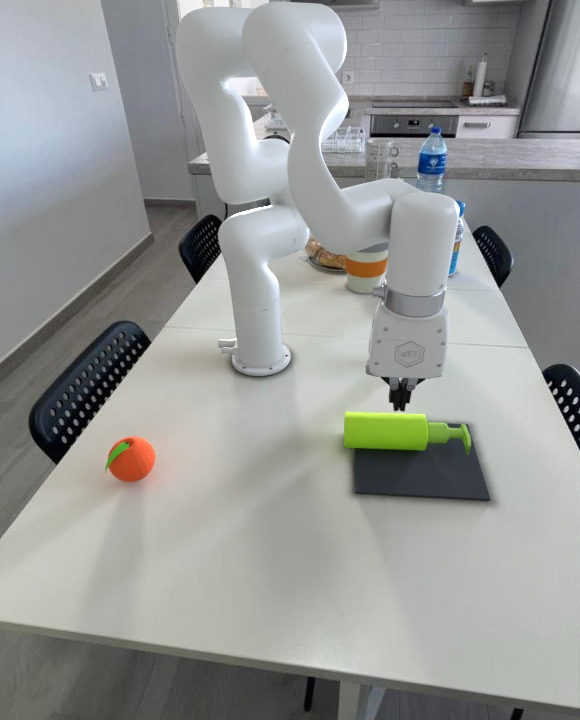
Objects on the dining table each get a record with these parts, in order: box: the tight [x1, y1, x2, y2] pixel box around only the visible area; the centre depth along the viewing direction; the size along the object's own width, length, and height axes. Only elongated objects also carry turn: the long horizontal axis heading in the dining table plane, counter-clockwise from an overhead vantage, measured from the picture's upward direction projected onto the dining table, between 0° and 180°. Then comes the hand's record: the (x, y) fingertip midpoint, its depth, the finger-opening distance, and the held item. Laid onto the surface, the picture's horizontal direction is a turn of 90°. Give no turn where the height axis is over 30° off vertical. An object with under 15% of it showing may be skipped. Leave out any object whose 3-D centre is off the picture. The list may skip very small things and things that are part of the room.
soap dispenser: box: [343, 411, 471, 455], centre depth 73 cm, size 6×7×20 cm
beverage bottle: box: [448, 199, 466, 277], centre depth 127 cm, size 8×8×20 cm
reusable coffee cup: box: [343, 242, 389, 294], centre depth 121 cm, size 12×13×15 cm
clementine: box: [105, 435, 156, 483], centre depth 69 cm, size 8×7×7 cm
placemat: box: [354, 422, 491, 502], centre depth 73 cm, size 20×16×1 cm
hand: (398, 405), depth 67 cm, fingers closed
